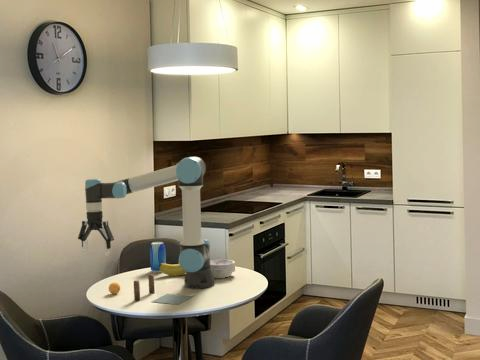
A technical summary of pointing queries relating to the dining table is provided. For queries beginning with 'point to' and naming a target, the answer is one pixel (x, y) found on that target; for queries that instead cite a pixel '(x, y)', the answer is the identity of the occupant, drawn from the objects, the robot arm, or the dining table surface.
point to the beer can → (157, 256)
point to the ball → (114, 288)
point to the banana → (172, 269)
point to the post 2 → (151, 283)
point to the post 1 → (136, 291)
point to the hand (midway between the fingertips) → (96, 254)
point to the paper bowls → (222, 268)
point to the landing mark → (172, 299)
